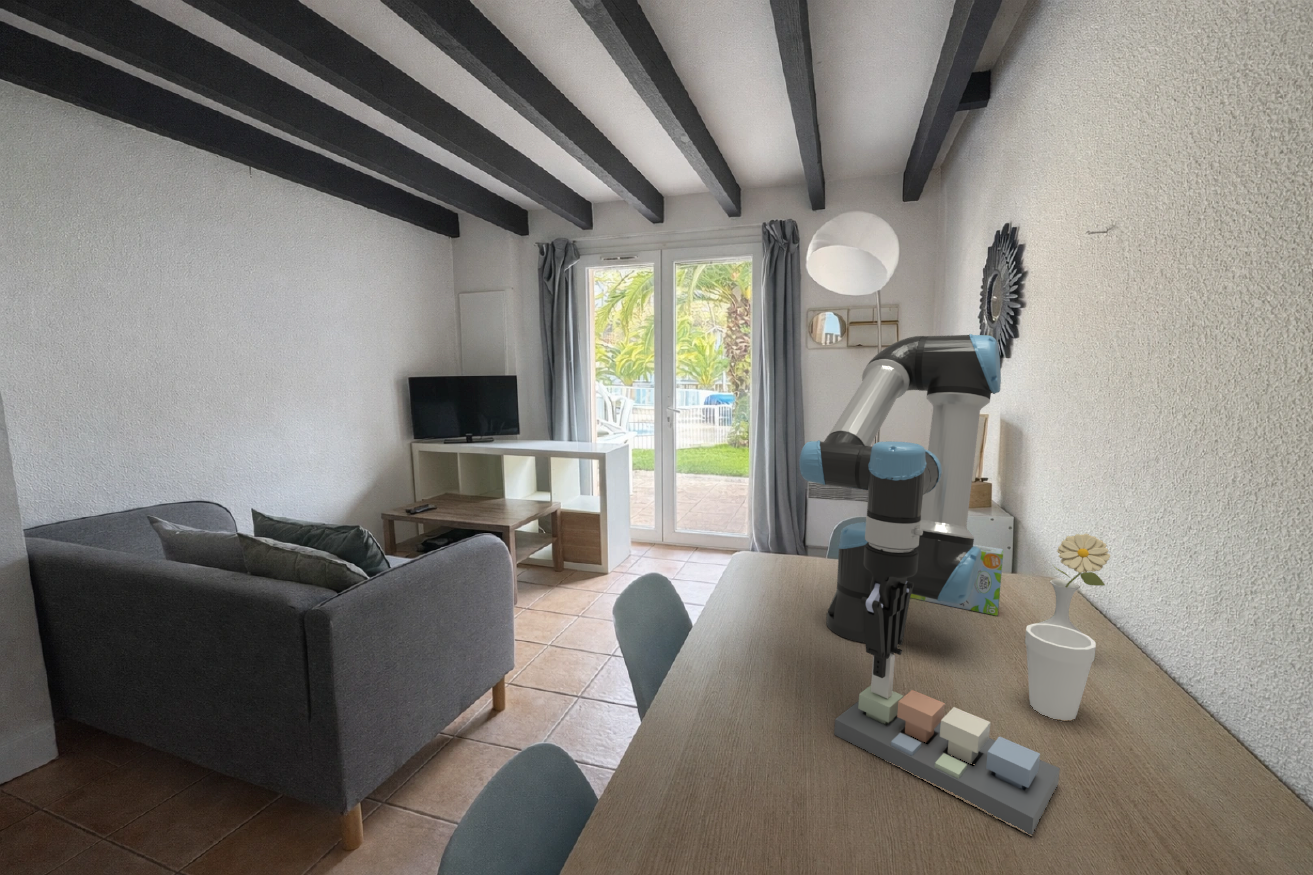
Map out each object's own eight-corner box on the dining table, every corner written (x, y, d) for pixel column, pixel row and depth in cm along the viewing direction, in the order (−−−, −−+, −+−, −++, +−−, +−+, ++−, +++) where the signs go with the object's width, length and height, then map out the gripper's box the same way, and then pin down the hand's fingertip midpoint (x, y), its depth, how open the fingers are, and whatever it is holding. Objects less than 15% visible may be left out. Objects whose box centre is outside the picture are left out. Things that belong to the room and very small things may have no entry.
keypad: (834, 734, 87) (835, 715, 86) (873, 702, 96) (874, 684, 95) (1031, 837, 68) (1033, 813, 68) (1058, 785, 77) (1060, 763, 76)
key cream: (938, 752, 79) (940, 720, 79) (951, 738, 83) (953, 706, 82) (975, 770, 76) (978, 736, 75) (987, 754, 79) (990, 722, 79)
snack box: (998, 609, 136) (1004, 548, 134) (997, 617, 131) (1003, 554, 130) (903, 589, 147) (907, 533, 146) (899, 596, 142) (903, 538, 141)
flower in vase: (1012, 640, 119) (1023, 525, 116) (1047, 631, 124) (1058, 520, 121) (1079, 670, 107) (1093, 542, 105) (1115, 659, 112) (1129, 536, 109)
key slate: (984, 785, 75) (987, 751, 75) (996, 769, 79) (999, 736, 78) (1026, 806, 72) (1029, 770, 71) (1036, 787, 75) (1040, 753, 75)
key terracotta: (896, 732, 84) (898, 701, 83) (909, 719, 87) (912, 689, 86) (929, 748, 80) (932, 716, 80) (942, 734, 84) (945, 703, 83)
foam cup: (1067, 733, 88) (1075, 654, 87) (1007, 702, 96) (1014, 629, 95) (1099, 717, 92) (1107, 641, 91) (1039, 689, 101) (1046, 619, 99)
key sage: (857, 723, 88) (859, 693, 88) (871, 711, 92) (873, 682, 91) (887, 738, 85) (889, 707, 84) (901, 725, 88) (903, 695, 88)
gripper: (897, 560, 78) (886, 721, 80) (934, 542, 87) (923, 688, 89) (846, 547, 83) (837, 698, 86) (886, 532, 92) (877, 669, 95)
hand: (881, 693), depth 88 cm, fingers closed
